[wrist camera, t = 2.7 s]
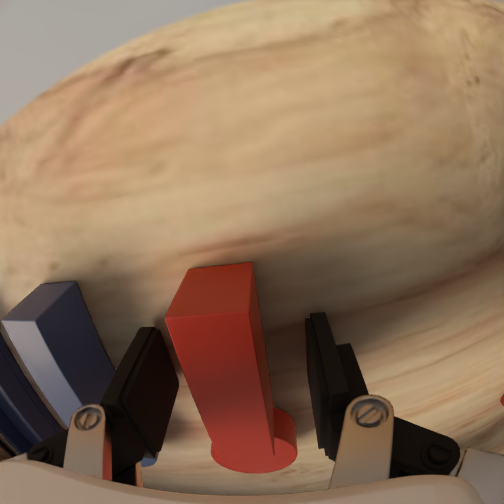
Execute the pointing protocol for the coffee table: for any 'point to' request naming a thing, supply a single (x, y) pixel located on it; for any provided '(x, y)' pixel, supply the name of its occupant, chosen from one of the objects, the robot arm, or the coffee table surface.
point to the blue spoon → (61, 348)
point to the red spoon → (230, 368)
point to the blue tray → (21, 407)
